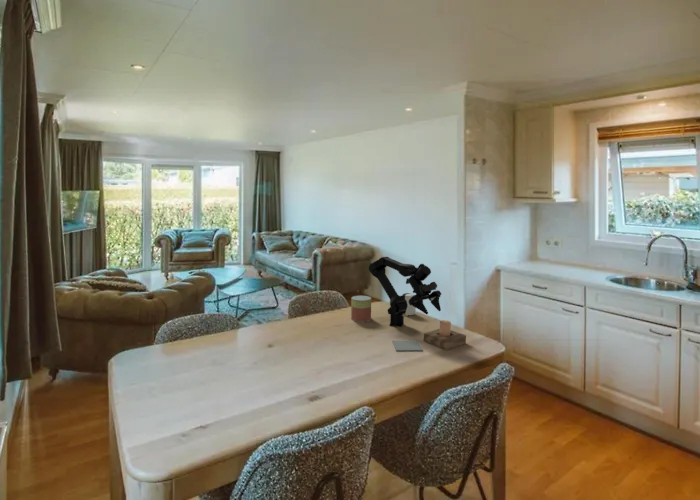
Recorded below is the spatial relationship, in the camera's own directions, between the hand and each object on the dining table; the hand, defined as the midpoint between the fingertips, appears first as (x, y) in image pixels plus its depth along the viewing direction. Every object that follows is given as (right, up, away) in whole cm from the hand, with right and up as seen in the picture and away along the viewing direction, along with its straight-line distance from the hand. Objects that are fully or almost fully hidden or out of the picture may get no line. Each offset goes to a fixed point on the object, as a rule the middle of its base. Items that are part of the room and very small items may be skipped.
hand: (433, 312), depth 206 cm
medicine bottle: (-7, -7, +42) cm, 44 cm away
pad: (-14, -14, -10) cm, 22 cm away
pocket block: (+4, -14, -4) cm, 15 cm away
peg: (+4, -14, -4) cm, 15 cm away
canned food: (-35, -9, +32) cm, 48 cm away
